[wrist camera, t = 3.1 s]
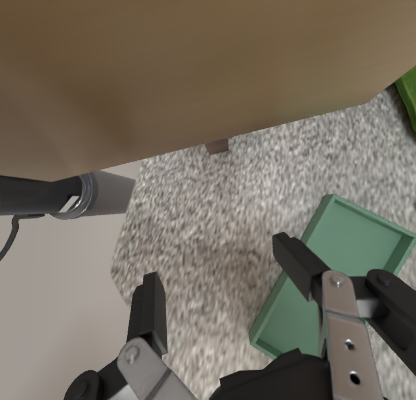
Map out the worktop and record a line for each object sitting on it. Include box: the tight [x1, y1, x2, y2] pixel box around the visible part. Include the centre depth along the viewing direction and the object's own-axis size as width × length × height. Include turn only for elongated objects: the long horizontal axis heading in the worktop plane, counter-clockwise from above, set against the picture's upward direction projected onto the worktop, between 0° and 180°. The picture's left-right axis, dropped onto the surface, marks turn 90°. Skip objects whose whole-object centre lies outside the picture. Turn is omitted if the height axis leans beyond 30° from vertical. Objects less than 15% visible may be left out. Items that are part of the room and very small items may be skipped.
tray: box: [249, 194, 416, 359], centre depth 31 cm, size 27×13×3 cm, turn 152°
